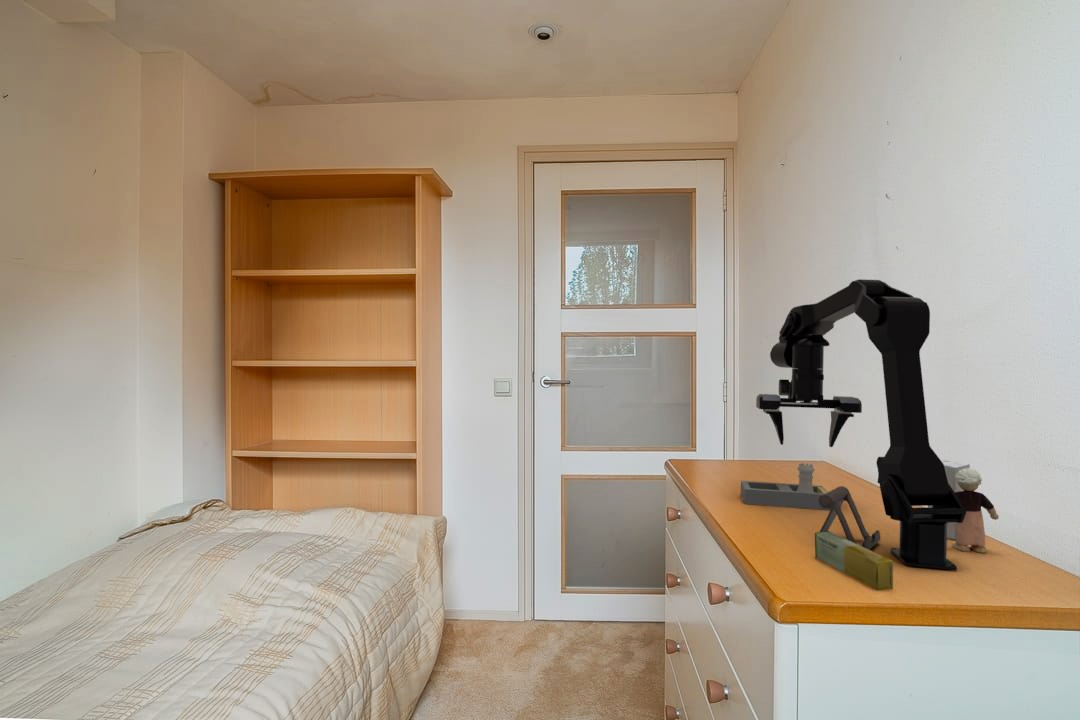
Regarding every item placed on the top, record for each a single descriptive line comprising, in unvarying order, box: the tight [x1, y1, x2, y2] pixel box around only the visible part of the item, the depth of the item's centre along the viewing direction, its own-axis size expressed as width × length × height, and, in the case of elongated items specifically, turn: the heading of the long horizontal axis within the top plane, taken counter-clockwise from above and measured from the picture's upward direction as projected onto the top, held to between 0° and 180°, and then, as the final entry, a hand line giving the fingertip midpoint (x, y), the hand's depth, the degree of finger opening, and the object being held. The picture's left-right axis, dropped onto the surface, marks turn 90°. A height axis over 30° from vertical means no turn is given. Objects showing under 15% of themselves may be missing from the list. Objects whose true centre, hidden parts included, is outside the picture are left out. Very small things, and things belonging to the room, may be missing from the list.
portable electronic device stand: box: [819, 486, 881, 550], centre depth 89 cm, size 9×8×8 cm
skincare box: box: [927, 460, 971, 541], centre depth 95 cm, size 6×4×12 cm
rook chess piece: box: [796, 462, 815, 493], centre depth 114 cm, size 4×4×8 cm
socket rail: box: [740, 480, 831, 511], centre depth 115 cm, size 8×16×3 cm, turn 76°
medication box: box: [814, 530, 894, 591], centre depth 78 cm, size 12×3×4 cm, turn 12°
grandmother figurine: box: [952, 467, 1000, 554], centre depth 88 cm, size 8×4×13 cm, turn 84°
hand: (806, 445), depth 114 cm, fingers open, 9 cm apart
